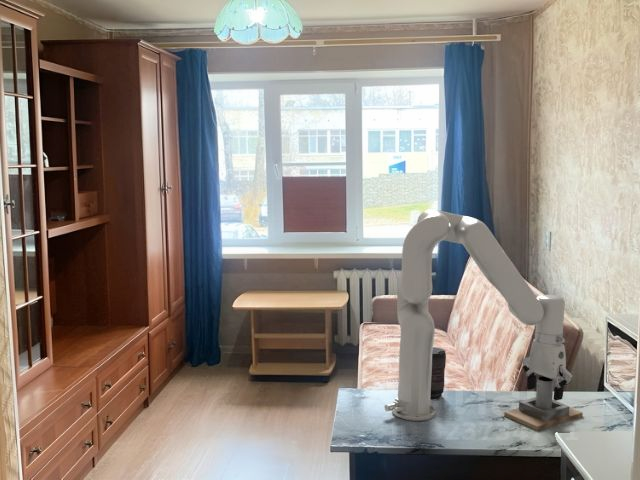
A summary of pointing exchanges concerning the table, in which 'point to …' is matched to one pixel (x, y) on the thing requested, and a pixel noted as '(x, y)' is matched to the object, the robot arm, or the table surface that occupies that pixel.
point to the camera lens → (437, 373)
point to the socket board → (542, 414)
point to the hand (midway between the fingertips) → (544, 394)
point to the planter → (544, 393)
